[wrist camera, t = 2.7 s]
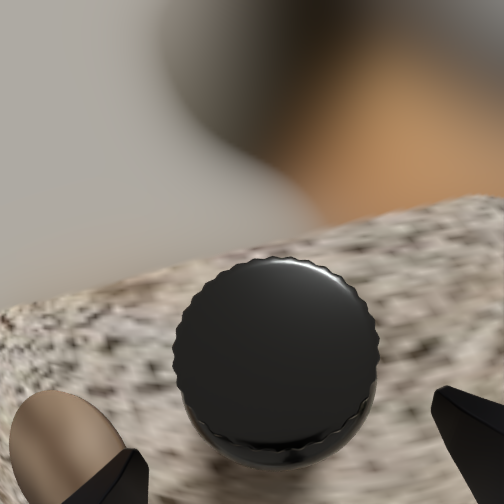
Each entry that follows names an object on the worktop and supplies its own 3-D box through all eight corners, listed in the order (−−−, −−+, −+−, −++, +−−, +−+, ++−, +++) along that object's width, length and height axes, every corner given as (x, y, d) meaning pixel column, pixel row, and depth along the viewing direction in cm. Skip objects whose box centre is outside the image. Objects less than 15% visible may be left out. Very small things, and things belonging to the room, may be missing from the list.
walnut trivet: (94, 561, 9) (87, 564, 8) (2, 455, 13) (-5, 454, 12) (169, 470, 14) (163, 472, 13) (56, 362, 18) (48, 358, 17)
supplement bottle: (354, 423, 15) (465, 412, 5) (246, 465, 14) (178, 531, 4) (311, 327, 18) (339, 193, 8) (209, 364, 18) (112, 274, 8)
